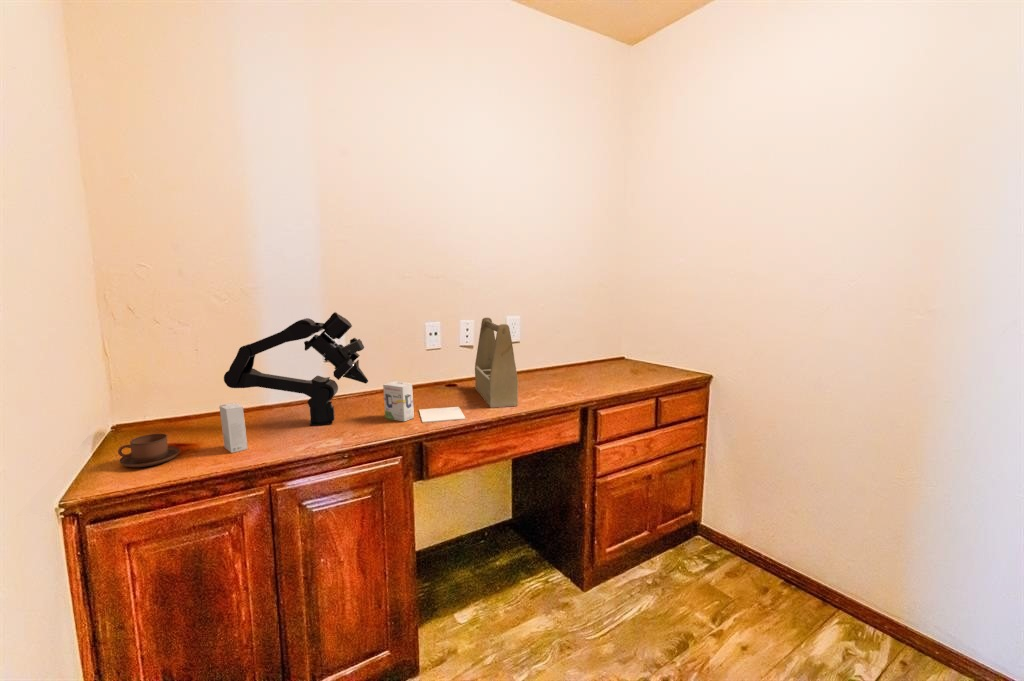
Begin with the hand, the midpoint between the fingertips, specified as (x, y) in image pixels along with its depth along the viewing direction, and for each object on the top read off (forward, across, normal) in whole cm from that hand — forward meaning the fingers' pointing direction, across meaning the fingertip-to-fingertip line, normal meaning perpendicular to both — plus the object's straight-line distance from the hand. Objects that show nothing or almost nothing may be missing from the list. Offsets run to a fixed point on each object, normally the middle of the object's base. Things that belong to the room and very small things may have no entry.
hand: (367, 382), depth 150 cm
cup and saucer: (-27, -24, +45) cm, 58 cm away
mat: (+26, +1, -8) cm, 27 cm away
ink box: (+16, 0, +2) cm, 16 cm away
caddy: (+41, +20, -23) cm, 51 cm away
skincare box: (-14, -19, +32) cm, 40 cm away
